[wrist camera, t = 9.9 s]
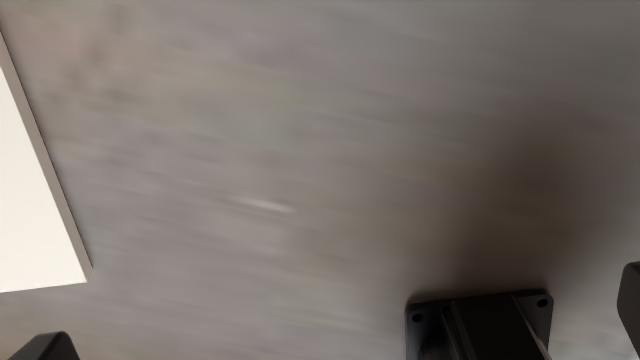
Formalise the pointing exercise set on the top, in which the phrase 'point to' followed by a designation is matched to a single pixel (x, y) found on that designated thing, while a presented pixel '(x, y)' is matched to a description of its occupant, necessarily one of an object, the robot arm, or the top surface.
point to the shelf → (32, 200)
